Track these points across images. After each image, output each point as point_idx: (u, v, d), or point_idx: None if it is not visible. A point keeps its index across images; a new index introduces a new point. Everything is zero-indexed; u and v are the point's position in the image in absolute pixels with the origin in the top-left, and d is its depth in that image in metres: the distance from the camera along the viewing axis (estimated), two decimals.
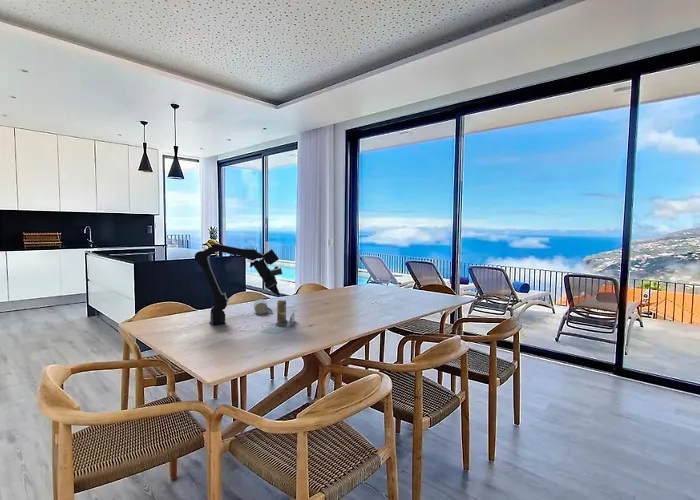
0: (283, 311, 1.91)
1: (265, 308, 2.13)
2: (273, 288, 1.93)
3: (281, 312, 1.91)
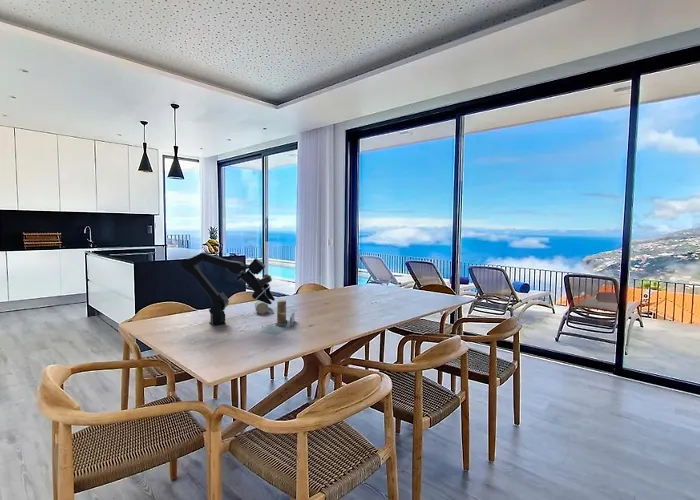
0: (283, 311, 1.91)
1: (266, 308, 2.14)
2: (263, 298, 1.86)
3: (281, 312, 1.91)
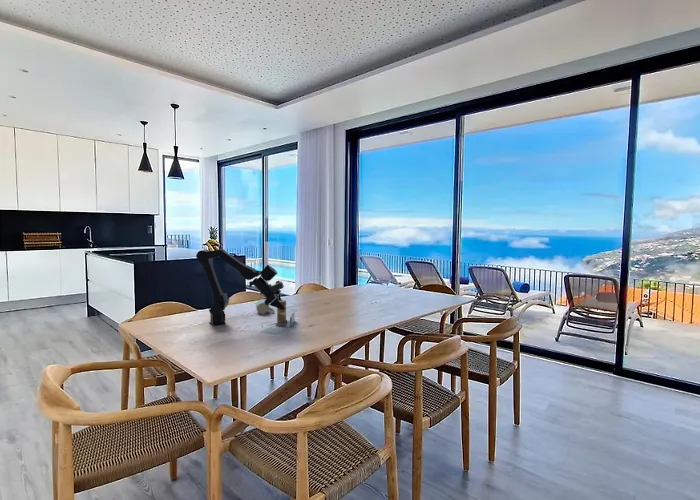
0: (283, 311, 1.91)
1: (267, 308, 2.14)
2: (276, 303, 1.89)
3: (281, 312, 1.91)
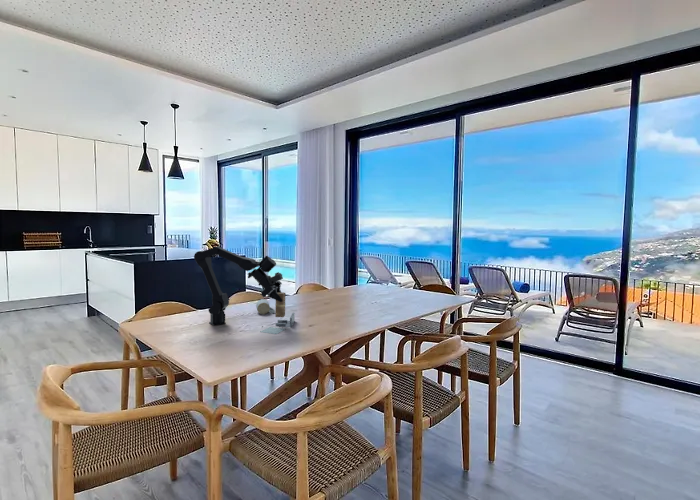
0: (281, 303, 1.87)
1: (267, 308, 2.14)
2: (274, 295, 1.86)
3: (279, 304, 1.87)
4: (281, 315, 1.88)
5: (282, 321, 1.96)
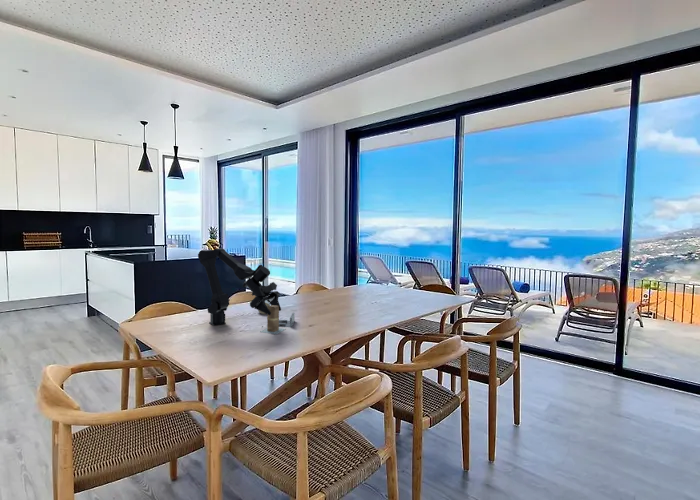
0: (273, 317, 1.78)
1: None
2: (262, 307, 1.75)
3: (271, 318, 1.78)
4: (272, 329, 1.79)
5: (282, 321, 1.96)
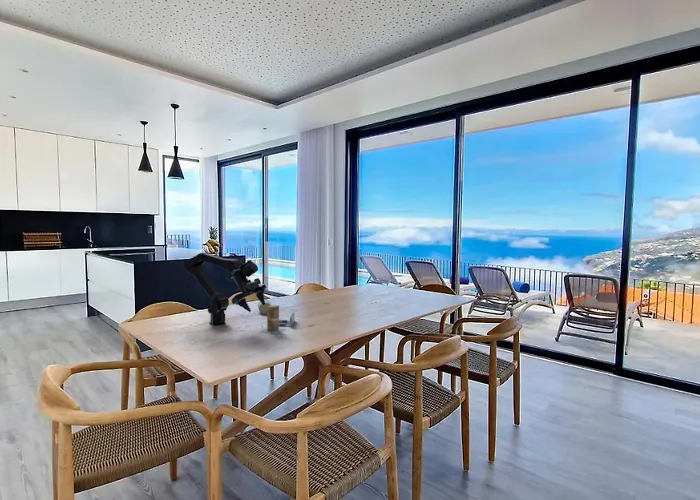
0: (273, 317, 1.78)
1: None
2: (243, 304, 1.81)
3: (271, 318, 1.78)
4: (272, 329, 1.79)
5: (282, 321, 1.96)
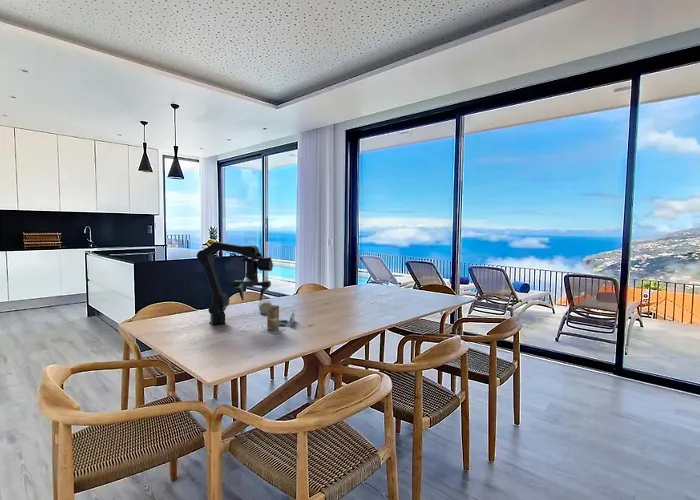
0: (273, 317, 1.78)
1: None
2: None
3: (271, 318, 1.78)
4: (272, 329, 1.79)
5: (282, 321, 1.96)
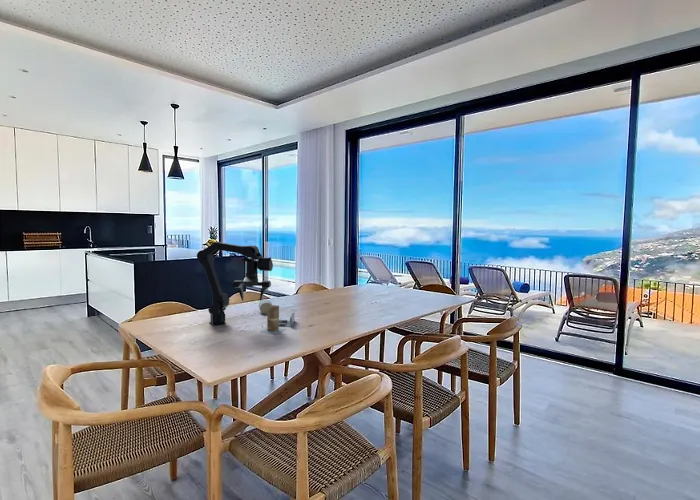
0: (273, 317, 1.78)
1: None
2: None
3: (271, 318, 1.78)
4: (272, 329, 1.79)
5: (282, 321, 1.96)
